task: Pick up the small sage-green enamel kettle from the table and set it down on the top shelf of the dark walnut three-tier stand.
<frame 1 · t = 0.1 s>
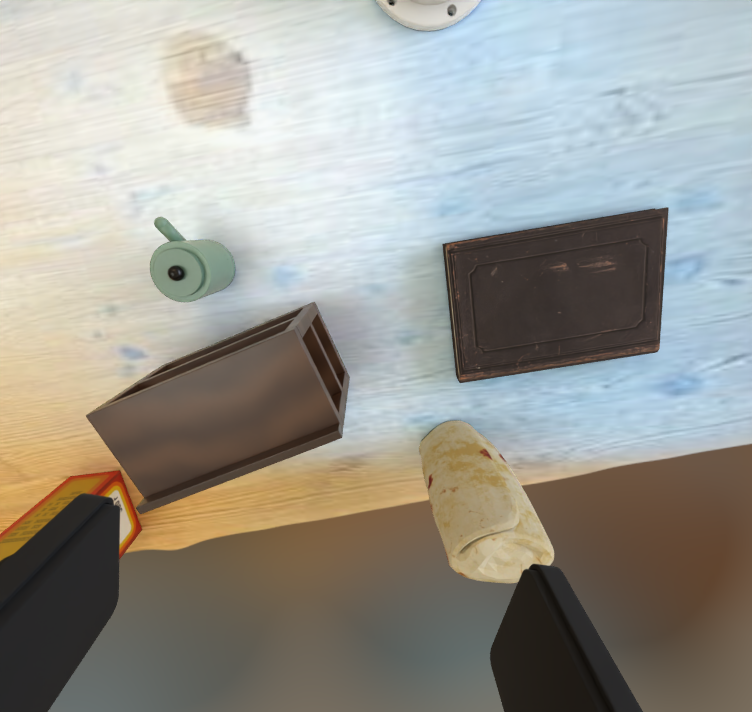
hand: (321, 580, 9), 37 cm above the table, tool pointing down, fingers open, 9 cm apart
kettle: (209, 266, 43), on the table
food model: (453, 438, 50), on the table
baking soda box: (108, 502, 52), on the table
hardcover book: (548, 298, 45), on the table
stand: (256, 371, 47), on the table
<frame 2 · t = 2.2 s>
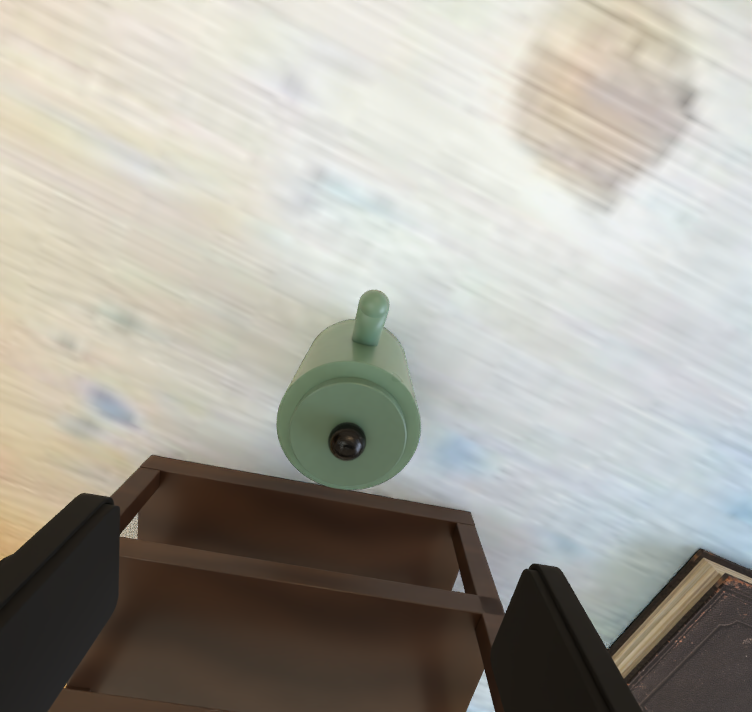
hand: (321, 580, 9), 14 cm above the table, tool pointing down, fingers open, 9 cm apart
kettle: (356, 368, 22), on the table
hardcover book: (747, 672, 30), on the table
stand: (302, 547, 26), on the table
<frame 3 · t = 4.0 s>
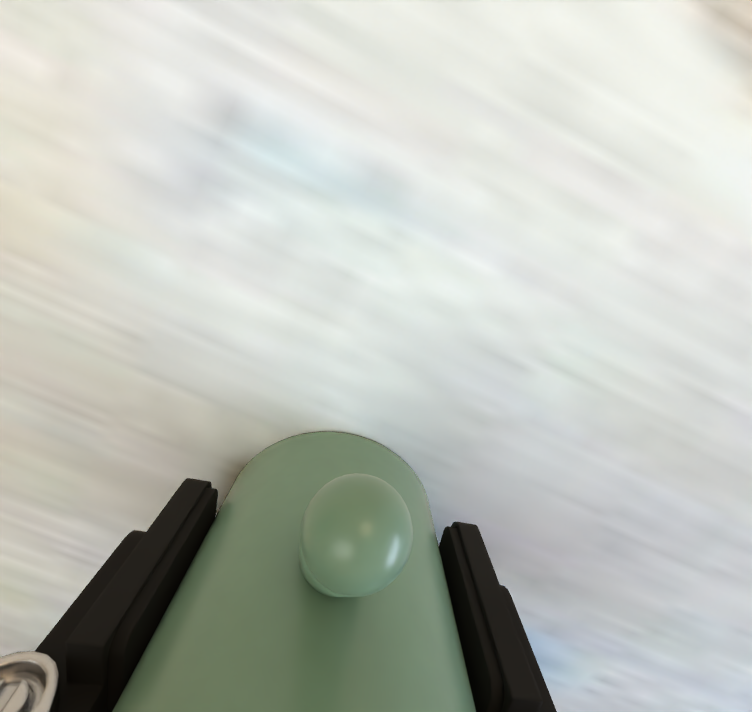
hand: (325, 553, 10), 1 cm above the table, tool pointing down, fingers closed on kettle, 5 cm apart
kettle: (329, 521, 11), on the table, touching gripper
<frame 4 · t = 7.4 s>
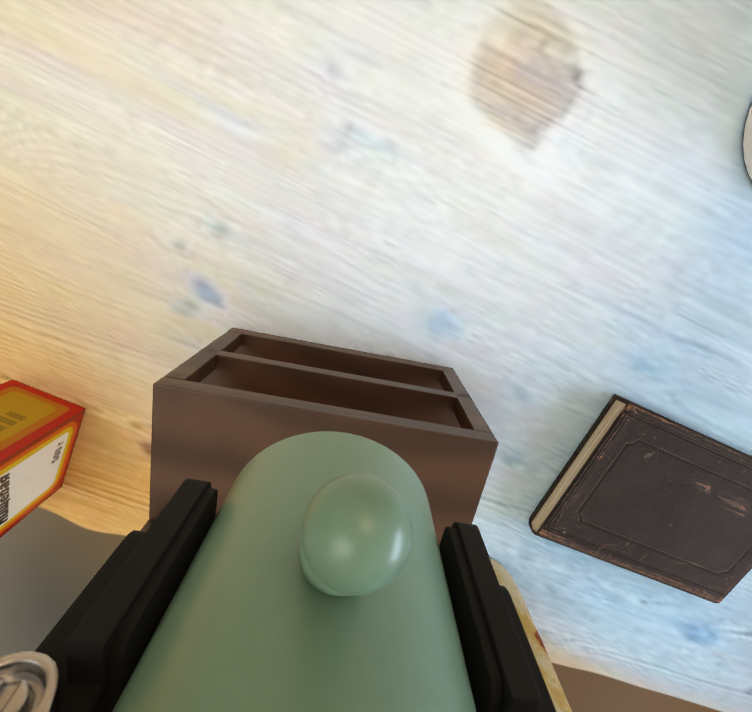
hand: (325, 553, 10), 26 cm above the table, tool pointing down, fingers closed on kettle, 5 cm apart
kettle: (329, 520, 11), point 24 cm above the table, touching gripper
food model: (478, 573, 43), on the table
baking soda box: (39, 434, 37), on the table
hardcover book: (659, 498, 41), on the table
stand: (335, 398, 36), on the table
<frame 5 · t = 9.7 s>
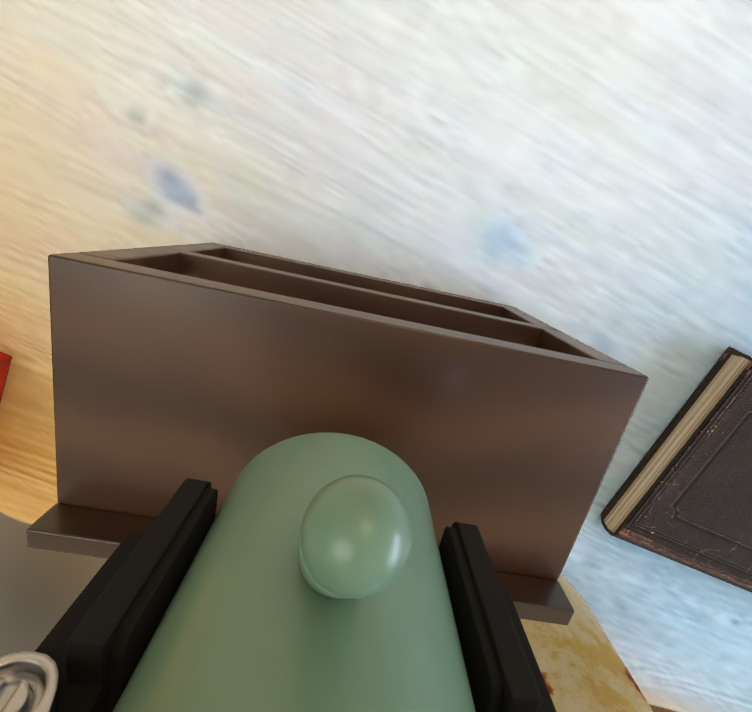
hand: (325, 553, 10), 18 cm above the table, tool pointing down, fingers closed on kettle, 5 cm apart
kettle: (329, 521, 11), point 17 cm above the table, touching gripper
food model: (529, 584, 34), on the table
stand: (353, 348, 27), on the table
when the fingers open (14 cm above the table, at t = 11.1 s): kettle stays where it is, resting on stand.
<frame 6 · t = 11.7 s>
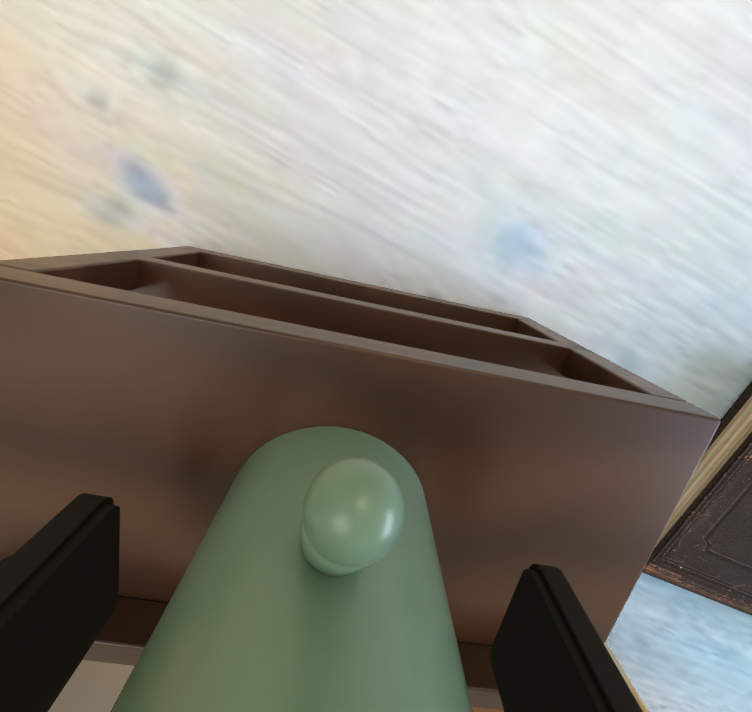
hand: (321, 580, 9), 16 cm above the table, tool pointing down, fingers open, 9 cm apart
kettle: (328, 513, 11), point 13 cm above the table, touching stand
food model: (542, 619, 31), on the table
stand: (348, 364, 24), on the table
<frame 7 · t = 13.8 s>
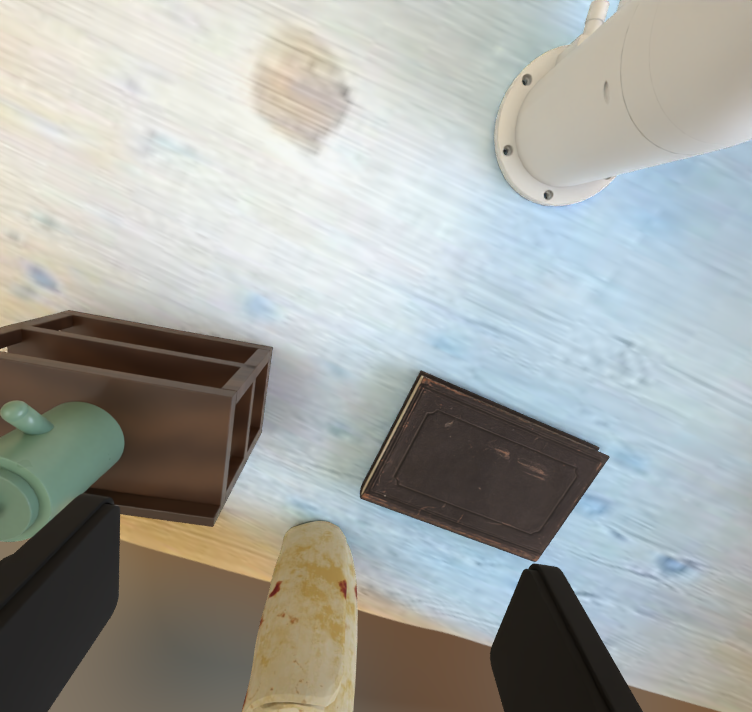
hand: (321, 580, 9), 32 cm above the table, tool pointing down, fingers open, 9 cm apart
kettle: (84, 437, 28), point 13 cm above the table, touching stand
food model: (323, 538, 47), on the table
hardcover book: (477, 466, 45), on the table
stand: (170, 375, 41), on the table
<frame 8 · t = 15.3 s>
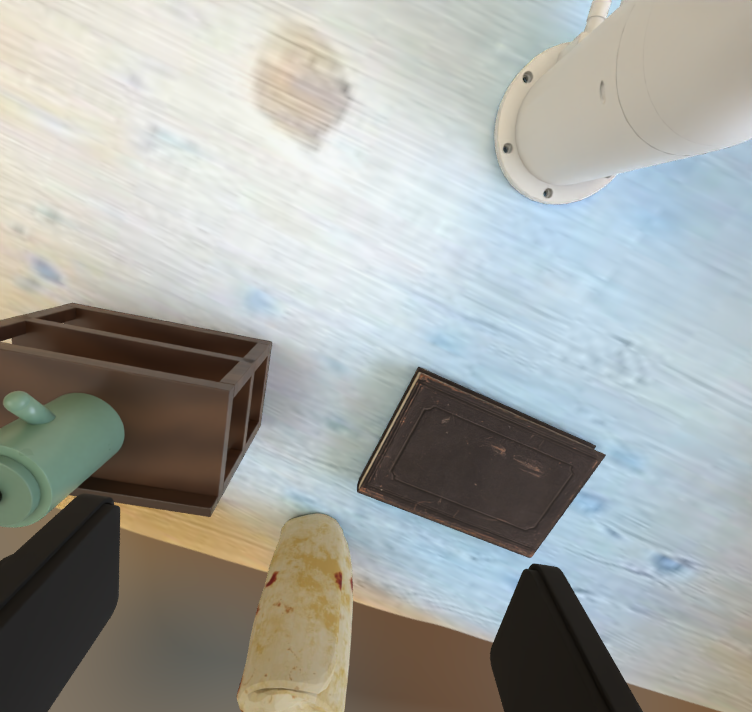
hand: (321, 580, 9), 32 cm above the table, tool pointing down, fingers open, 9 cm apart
kettle: (85, 427, 29), point 13 cm above the table, touching stand
food model: (321, 530, 48), on the table
hardcover book: (474, 463, 46), on the table
stand: (171, 367, 41), on the table
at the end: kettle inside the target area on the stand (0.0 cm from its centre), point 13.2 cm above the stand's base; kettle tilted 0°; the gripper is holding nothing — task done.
